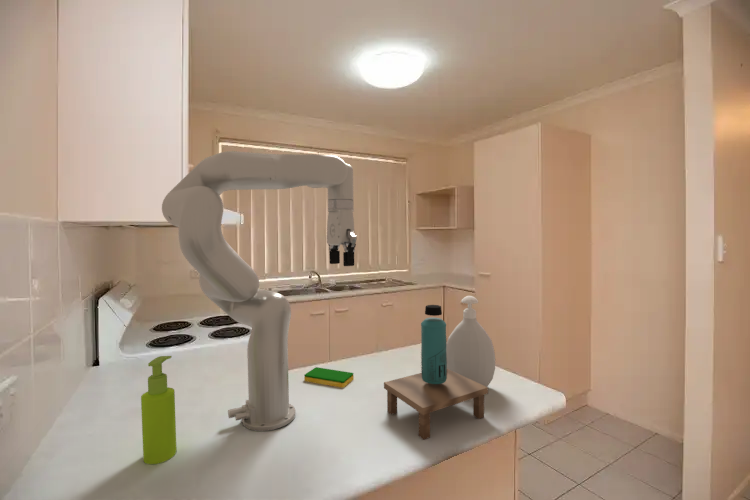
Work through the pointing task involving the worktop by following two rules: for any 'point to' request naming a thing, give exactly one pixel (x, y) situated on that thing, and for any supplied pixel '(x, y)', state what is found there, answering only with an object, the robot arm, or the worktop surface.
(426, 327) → the beverage bottle
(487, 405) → the worktop surface
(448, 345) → the soap bottle
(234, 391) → the worktop surface
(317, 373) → the dish sponge
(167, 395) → the soap dispenser
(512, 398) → the worktop surface
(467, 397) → the footstool
